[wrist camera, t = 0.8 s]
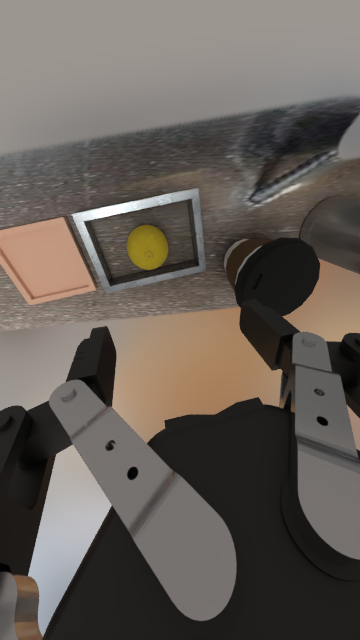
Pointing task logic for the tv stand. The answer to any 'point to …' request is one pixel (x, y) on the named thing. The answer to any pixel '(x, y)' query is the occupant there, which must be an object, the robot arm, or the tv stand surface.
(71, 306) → the tv stand surface
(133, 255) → the lemon
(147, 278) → the grey open box
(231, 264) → the coffee cup
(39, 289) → the tray
